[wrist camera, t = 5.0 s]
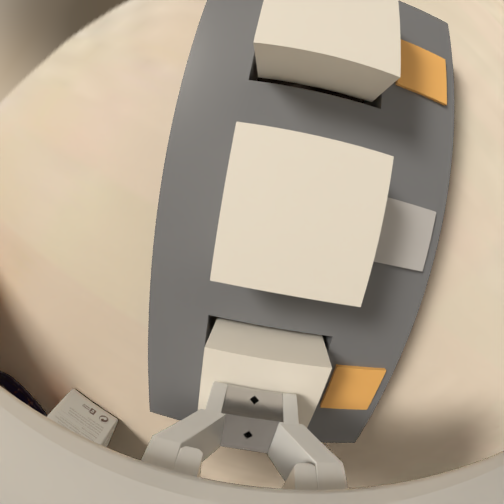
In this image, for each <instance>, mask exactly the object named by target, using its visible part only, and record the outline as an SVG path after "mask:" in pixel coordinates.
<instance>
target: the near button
mask: <svg viewBox="0 0 504 504" xmlns="http://www.w3.org/2000/svg"><path fill="white" fill-rule="evenodd" d="M253 44H254V50H255V57H256V64H257V71H258V77H260V78H268V79H274V80H281V81H286V82H292V83H297V84H303V85H308V86H312V87H317V88H321V89H326V90H330V91H334V92H338V93H342V94H345V95H349V96H353V97H356V98H360V99H363V100H366V101H370V102H373V101H374V100H375V99H376V98H377V97H378V96H379V95H381V94H382V93H383V92H384V91H385V90H386V89H387V88H389V87H390V86H391V85H392V84H393V83H394V82H396V81H397V80H398V79H399V78H400V74H401V39H400V16H399V3H398V0H264V1H263V5H262V9H261V13H260V17H259V21H258V25H257V29H256V33H255V37H254V42H253Z"/></svg>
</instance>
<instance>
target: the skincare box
mask: <svg viewBox="0 0 504 504" xmlns="http://www.w3.org/2000/svg"><path fill="white" fill-rule="evenodd" d="M47 418H49V419H51V420H53V421H54V422H56V423H58V424H60V425H62V426H63V427H65V428H67V429H69V430H71V431H73V432H75V433H77V434H79V435H81V436H83V437H85V438H87V439H89V440H91V441H93V442H95V443H98V444H100V445H102V446H105V447H107V446H108V443H109V441H110V439H111V436H112V434H113V432H114V429H115V427H116V425H117V423H118V419H117V418H115V417H114V416H112V415H111V414H109V413H108V412H106V411H105V410H103V409H102V408H100V407H99V406H97V405H96V404H94V403H93V402H91V401H90V400H89V399H87V398H86V397H85V396H83V395H82V394H81V393H79V392H78V391H77V390H75V389H72V390H71V391H70V392H69V393H68V394H67V395H66V396H65V397H64V398H63V399H62V400H61V401H60V402H59V404H58V405H57V406H56V407H55V408H54V409H53V410H52V411H51V412H50V413H49V415H48V416H47Z"/></svg>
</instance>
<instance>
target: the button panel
mask: <svg viewBox="0 0 504 504" xmlns="http://www.w3.org/2000/svg"><path fill="white" fill-rule="evenodd" d="M263 1H264V0H207V2H206V5H205V8H204V11H203V13H202V16H201V19H200V22H199V25H198V28H197V31H196V34H195V38H194V41H193V44H192V47H191V51H190V54H189V58H188V61H187V65H186V68H185V72H184V76H183V80H182V84H181V87H180V91H179V96H178V100H177V104H176V108H175V113H174V117H173V122H172V127H171V132H170V136H169V142H168V147H167V152H166V158H165V163H164V169H163V175H162V182H161V188H160V195H159V202H158V210H157V218H156V226H155V235H154V245H153V256H152V268H151V282H150V300H149V328H148V376H149V403H150V412H153V413H157V414H160V415H163V416H167V417H170V418H173V419H177V420H182V419H184V418H186V417H188V416H189V415H191V414H193V413H195V412H196V411H198V402H199V392H200V383H201V373H202V365H203V356H204V348H205V345H206V343H207V340H208V338H209V336H210V333H211V331H212V329H213V327H214V324H215V322H216V317H221V318H225V319H230V320H235V321H240V322H246V323H251V324H256V325H262V326H267V327H273V328H279V329H285V330H291V331H297V332H304V333H311V334H318V335H322V337H323V340H324V343H325V347H326V350H327V353H328V356H329V359H330V363H331V366H332V370H331V372H330V375H329V377H328V380H327V383H326V385H325V388H324V390H323V393H322V395H321V397H320V400H319V402H318V405H317V407H316V409H315V411H314V414H313V416H312V418H311V421H310V423H309V425H308V427H307V429H308V430H309V431H310V432H311V433H312V434H313V435H314V436H315V437H316V438H317V439H318V440H319V441H320V442H332V443H355V442H356V440H357V438H358V437H359V435H360V434H361V432H362V430H363V429H364V427H365V425H366V423H367V422H368V420H369V418H370V416H371V415H372V413H373V411H374V409H375V407H376V406H377V404H378V402H379V400H380V398H381V396H382V394H383V392H384V390H385V388H386V386H387V384H388V382H389V380H390V378H391V376H392V374H393V372H394V370H395V367H396V365H397V363H398V361H399V358H400V356H401V354H402V352H403V349H404V347H405V344H406V342H407V339H408V337H409V334H410V332H411V329H412V327H413V324H414V321H415V319H416V316H417V313H418V310H419V307H420V304H421V301H422V298H423V295H424V292H425V289H426V286H427V282H428V279H429V276H430V272H431V268H432V265H433V261H434V257H435V253H436V249H437V245H438V241H439V236H440V232H441V227H442V222H443V217H444V212H445V206H446V200H447V194H448V187H449V179H450V171H451V162H452V150H453V135H454V77H453V63H452V52H451V43H450V36H449V29H448V24H447V23H446V22H444V21H442V20H440V19H438V18H436V17H434V16H432V15H430V14H428V13H426V12H424V11H422V10H419V9H417V8H415V7H413V6H410V5H408V4H406V3H403V2H401V1H398V3H399V16H400V39H401V74H400V78H399V79H398V80H397V81H396V82H394V83H393V84H392V85H391V86H390V87H389V88H387V89H386V90H385V91H384V92H383V93H382V94H381V95H379V96H378V97H377V98H376V99H375V100H374V101H373V102H370V101H366V100H364V104H363V103H359V102H356V101H352V100H349V99H345V98H341V97H337V96H333V95H329V94H325V93H321V92H316V91H312V90H307V89H302V88H297V87H291V86H286V85H280V84H274V83H267V82H260V81H257V78H258V71H257V64H256V57H255V50H254V44H253V42H254V37H255V33H256V29H257V25H258V21H259V17H260V13H261V9H262V5H263ZM236 122H244V123H251V124H257V125H264V126H270V127H276V128H281V129H287V130H292V131H297V132H302V133H307V134H312V135H316V136H321V137H325V138H329V139H333V140H338V141H342V142H345V143H349V144H353V145H357V146H360V147H364V148H367V149H371V150H374V151H378V152H381V153H384V154H387V155H391V156H394V159H393V166H392V173H391V179H390V185H389V191H388V197H387V202H386V208H385V213H384V218H383V223H382V227H381V232H380V236H379V241H378V245H377V249H376V253H375V257H374V261H373V265H372V269H371V273H370V276H369V280H368V284H367V287H366V291H365V294H364V298H363V301H362V304H361V307H356V306H350V305H343V304H337V303H331V302H325V301H318V300H313V299H307V298H301V297H295V296H289V295H284V294H278V293H273V292H267V291H262V290H256V289H251V288H246V287H241V286H235V285H230V284H225V283H220V282H215V281H210V276H211V269H212V262H213V255H214V248H215V241H216V235H217V228H218V222H219V216H220V210H221V204H222V198H223V192H224V186H225V180H226V174H227V169H228V163H229V158H230V152H231V147H232V142H233V136H234V131H235V126H236Z"/></svg>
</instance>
